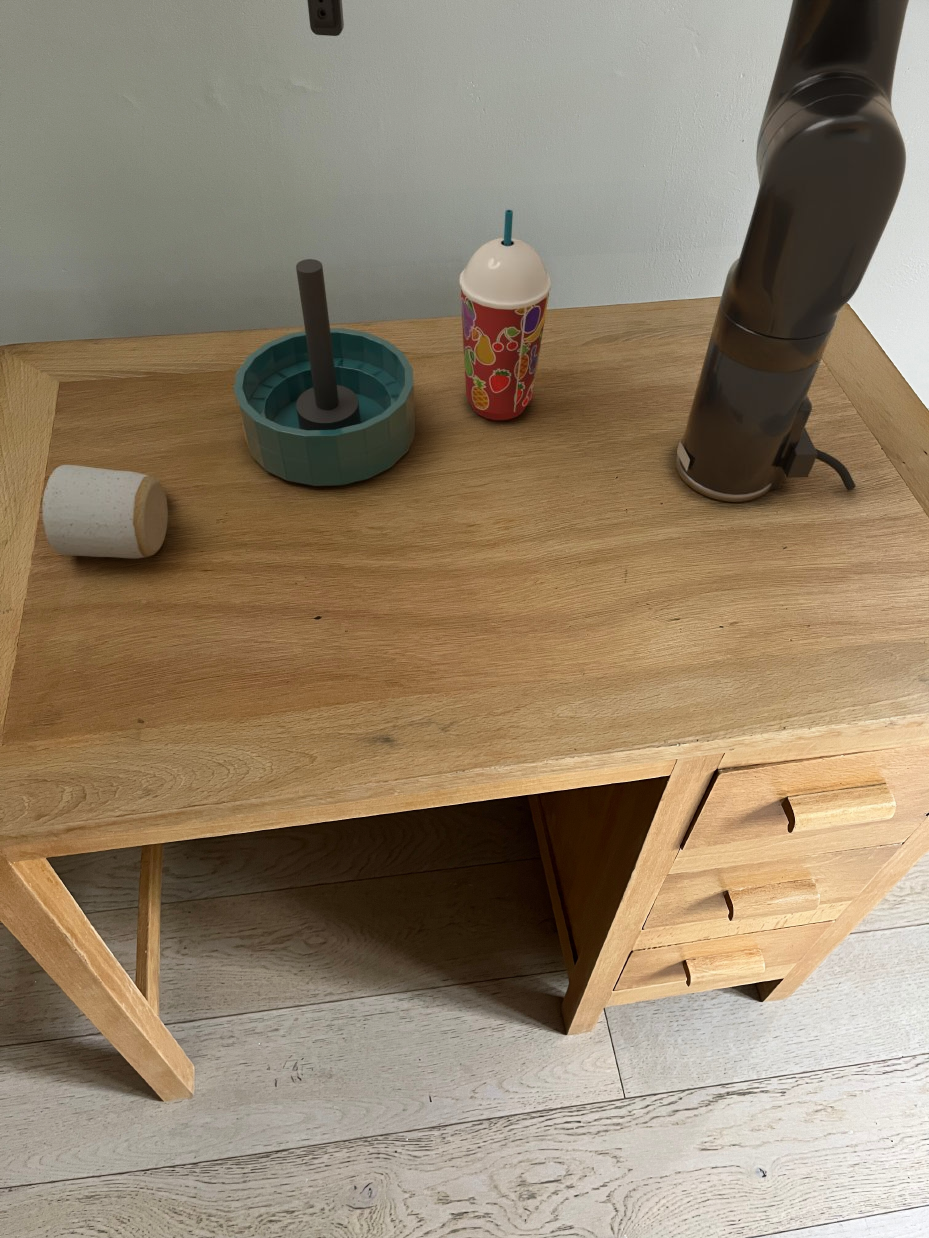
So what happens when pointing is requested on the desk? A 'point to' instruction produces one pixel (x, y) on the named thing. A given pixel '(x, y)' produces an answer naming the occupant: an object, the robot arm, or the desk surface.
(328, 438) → the bowl
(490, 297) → the smoothie
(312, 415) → the rod on round base
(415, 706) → the desk surface
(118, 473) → the ceramic mug
